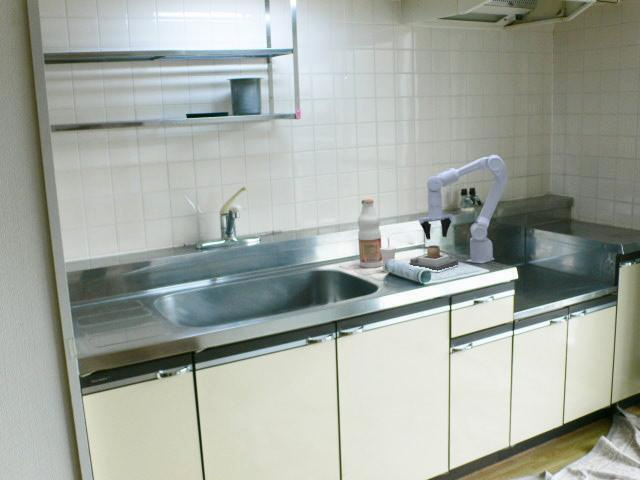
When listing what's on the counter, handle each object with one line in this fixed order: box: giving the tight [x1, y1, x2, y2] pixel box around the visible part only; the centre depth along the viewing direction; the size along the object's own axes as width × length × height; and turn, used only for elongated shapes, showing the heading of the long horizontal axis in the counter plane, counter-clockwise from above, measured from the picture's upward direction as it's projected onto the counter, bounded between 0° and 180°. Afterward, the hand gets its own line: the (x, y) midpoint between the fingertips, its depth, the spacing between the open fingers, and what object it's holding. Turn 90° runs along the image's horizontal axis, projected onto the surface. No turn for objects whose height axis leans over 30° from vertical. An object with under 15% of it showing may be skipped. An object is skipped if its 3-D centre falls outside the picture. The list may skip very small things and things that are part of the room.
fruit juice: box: [357, 199, 383, 269], centre depth 287 cm, size 9×9×28 cm
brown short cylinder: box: [426, 244, 441, 259], centre depth 277 cm, size 5×5×6 cm
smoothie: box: [380, 236, 397, 273], centre depth 276 cm, size 6×6×14 cm
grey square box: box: [408, 253, 459, 271], centre depth 278 cm, size 14×14×4 cm
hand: (436, 238), depth 285 cm, fingers open, 7 cm apart
